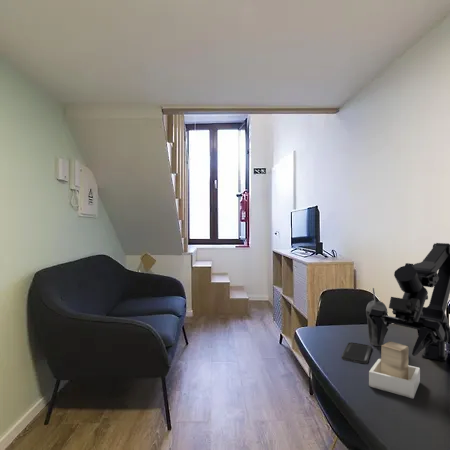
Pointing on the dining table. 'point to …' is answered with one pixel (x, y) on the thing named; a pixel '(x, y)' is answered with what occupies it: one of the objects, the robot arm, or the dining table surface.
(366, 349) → the phone
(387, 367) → the wood block
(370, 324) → the beverage cup
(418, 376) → the box
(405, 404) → the dining table surface
